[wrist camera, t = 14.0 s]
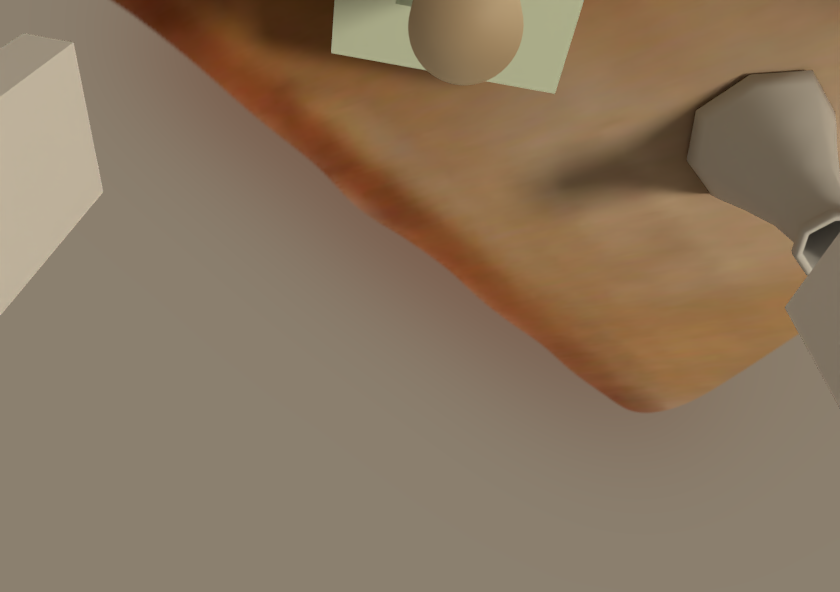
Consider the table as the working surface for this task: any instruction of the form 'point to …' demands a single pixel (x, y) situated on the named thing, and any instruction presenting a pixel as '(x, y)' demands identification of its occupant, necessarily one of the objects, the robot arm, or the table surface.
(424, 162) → the table surface
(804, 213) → the flask
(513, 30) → the beech peg
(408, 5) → the socket board
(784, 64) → the table surface
